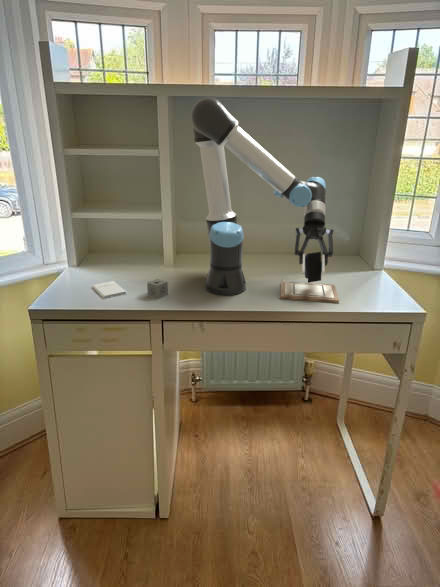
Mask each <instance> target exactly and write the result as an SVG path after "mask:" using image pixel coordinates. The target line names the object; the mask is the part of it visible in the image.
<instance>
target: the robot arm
mask: <svg viewBox="0 0 440 587" xmlns="http://www.w3.org/2000/svg"><path fill="white" fill-rule="evenodd" d="M190 122H191V126H192V132H193V138H194V143H195V144H196V145H197V146H198V147H199V151H200V158H201V166H202V171H203V178H204V185H205V186H204V187H205V191H206V193H205V194H206V198H207V199H206V200H207V206H208V215H207V216H206V217H205V220H206V227H207V237H208V240H209V268H208V269H209V270H208V273H207V276H206V279H205V283H204V284H205V285H204V288H205V290H206V291H207V292H208V293H211V294H214V295H220V296H233V295H239V294H241V293H244V292H245V291H246V287H247V281H246V278H245V274H244V271H243V247H244V246H243V245H244V243H243V242H244V230H243V228H242V226H241V225H240V224H238V219H237V218H238V217H237V213H236V212H234V211H233V209H232V201H231V194H230V187H229V186H230V184H229V178H228V170H227V162H226V153H225V148H226V149H227V150H228V151H230V152H231V153H232V154H233V155H234V156H235V157H237V158H238V160H240V161H241V162H242V163H243V164H245V165H246V166H247V167H248V168H249V169H251V170H252V171H253V172H254V173H255V174H256V175H258V176H259V177H260V178H261V179H263V180H264V181H265V183H267V184H268V185H270V186H271V187H272V189H273V195H274V196H275V197H278V198H280V199H285V200H287V201H288V202H289V203H290V204H291V205H293V207H297V208H304V217H303V218H304V219H303V226H302V227H301V228H299V227H296V228H295V231H294V233H295V237H296V238H295V245H294V253H293V254H294V255H295V256H299V258H298V264H299V265H301V274H302V275H305V255H306V253H305V251H306V249H307V246H308V244H309V241H310V240H316V241H317V242H318V244H319V247H320V250H321V262H322V265H321V276H324V275H325V269H326V268H325V267H327V266H328V262H329V257H330V258H331V257H333V255H334V243H333V235H334V231H335V230H334V229H330V230H329V229H327V227H326V193H327V187H326V186H327V185H326V182H325V179H324V178H322V177H320V176H316V177H315V176H312V177H310V178H308V179H307V180H306V181H305V180H300V179H298V178H297V177H296V175H294V174H293V173H292V171H290V170H289V169H288V168H286V167H285V166H284V165H283V164H282V163H281V162H280V161H278V160H277V159H276V158H275V157H274V156H273V155H272V154H271V153H269V152H268V151H267V150H266V149H265V148H264V147H262V146H261V145H260V144H259V143H258V142H257V141H256V140H255V139H254V138H253V137H251V136H250V135H249V134H248V133H247V132H246V131H245V130H243V128H242V127H240V126H239V121H238V120H237V119H236V118H235V117H234V116H233V115H232V114H231V113H230V112H229V111H228V110H227V108H226V107H225V106H224V105H223V104H222V102H221V101H219V100H218V99H216V98H213V97H205V98H201V99H199V100H198V101H197V102H196V103H195V104H194V106H192V109H191V112H190ZM302 233H303V234H304V235H305V238H304V241H303V244H302V246H301V248H300V247H299V246H300V239H301V235H302ZM325 234H326V236H327V246H328V249H327V247H326V244H325V241H324V237H323V236H324V235H325ZM299 248H300V249H299Z"/></svg>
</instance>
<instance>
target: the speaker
mask: <svg viewBox="0 0 440 587" xmlns="http://www.w3.org/2000/svg"><path fill="white" fill-rule="evenodd" d="M321 265H322V251H315V252H309V253H307V254H305V271H304V278H305V279H307V283H316V282H320V281H322V275H321Z"/></svg>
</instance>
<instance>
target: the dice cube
mask: <svg viewBox="0 0 440 587" xmlns="http://www.w3.org/2000/svg"><path fill="white" fill-rule="evenodd" d="M146 286H147V287H146V288H147V296H148V297H151V298H154V299H155V300H160V299H161V298H164V297H167V296H168V295H169V284H168V281H165V280H162V279H160V278H156V279H153V280H150V281H148V282H147V285H146Z"/></svg>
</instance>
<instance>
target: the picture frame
mask: <svg viewBox="0 0 440 587" xmlns="http://www.w3.org/2000/svg"><path fill="white" fill-rule="evenodd" d="M279 297H280V300H289V301H290V300H291V301H306V302H318V303H319V302H320V303H330V304H331V303H334V304H339V303H340V299H339V295H338V291H337V288H336V284H331V283H330V284H329V283H316V282H310V283H308V282H299V281H286V280H285V281H284V280H281V281H280V296H279Z"/></svg>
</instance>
